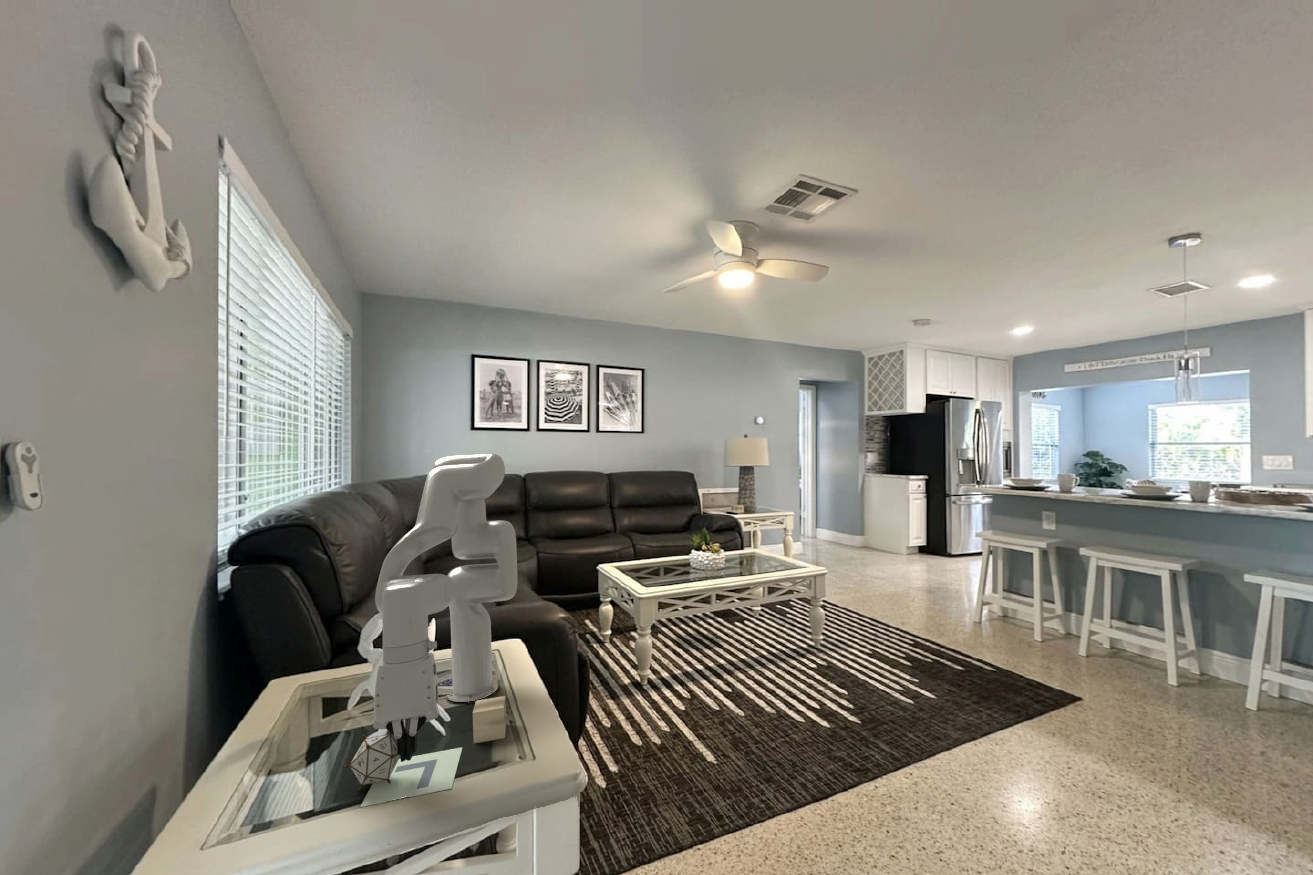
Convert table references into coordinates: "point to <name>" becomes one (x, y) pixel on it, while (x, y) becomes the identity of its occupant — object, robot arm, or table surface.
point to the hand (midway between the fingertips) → (407, 757)
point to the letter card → (416, 777)
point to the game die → (374, 760)
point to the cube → (489, 719)
